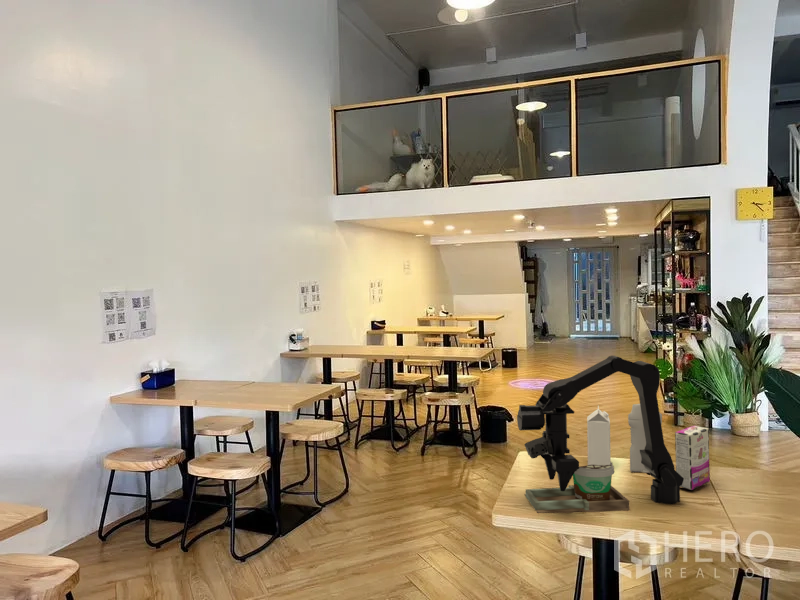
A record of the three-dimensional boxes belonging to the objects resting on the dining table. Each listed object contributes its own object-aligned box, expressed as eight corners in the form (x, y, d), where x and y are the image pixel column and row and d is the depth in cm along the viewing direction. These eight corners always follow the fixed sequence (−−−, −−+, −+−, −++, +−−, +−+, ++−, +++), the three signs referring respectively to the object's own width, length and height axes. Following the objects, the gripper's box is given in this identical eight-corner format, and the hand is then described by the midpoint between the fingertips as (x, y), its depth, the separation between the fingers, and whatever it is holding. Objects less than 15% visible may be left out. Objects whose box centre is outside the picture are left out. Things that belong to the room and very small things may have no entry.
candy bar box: (693, 477, 177) (693, 424, 177) (710, 482, 173) (710, 428, 173) (674, 486, 171) (674, 431, 170) (691, 490, 167) (691, 434, 166)
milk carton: (587, 466, 190) (587, 409, 189) (587, 460, 197) (587, 404, 196) (610, 468, 188) (610, 410, 187) (610, 461, 194) (609, 405, 194)
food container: (578, 507, 155) (578, 470, 155) (570, 499, 161) (569, 463, 161) (623, 505, 156) (622, 468, 156) (612, 496, 162) (612, 461, 162)
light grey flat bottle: (659, 468, 186) (659, 401, 185) (665, 472, 182) (664, 403, 181) (626, 468, 187) (625, 401, 186) (631, 473, 183) (630, 404, 182)
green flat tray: (609, 492, 167) (609, 483, 167) (629, 510, 154) (629, 500, 154) (524, 496, 166) (524, 487, 165) (537, 514, 153) (537, 505, 152)
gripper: (518, 422, 168) (519, 475, 168) (537, 439, 149) (538, 499, 150) (556, 420, 168) (556, 473, 169) (579, 437, 150) (580, 497, 150)
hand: (556, 485), depth 159 cm, fingers open, 9 cm apart
